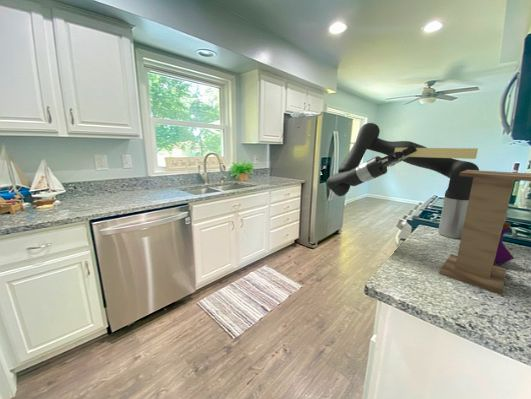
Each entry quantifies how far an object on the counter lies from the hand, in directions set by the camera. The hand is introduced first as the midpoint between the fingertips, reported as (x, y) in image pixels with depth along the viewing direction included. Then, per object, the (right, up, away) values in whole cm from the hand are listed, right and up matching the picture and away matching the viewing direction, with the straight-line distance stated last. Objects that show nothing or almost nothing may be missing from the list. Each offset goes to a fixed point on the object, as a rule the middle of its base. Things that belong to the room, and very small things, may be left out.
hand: (416, 148), depth 79 cm
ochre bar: (+3, -4, -3) cm, 5 cm away
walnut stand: (+14, -41, -6) cm, 44 cm away
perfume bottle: (+28, -40, +2) cm, 48 cm away
